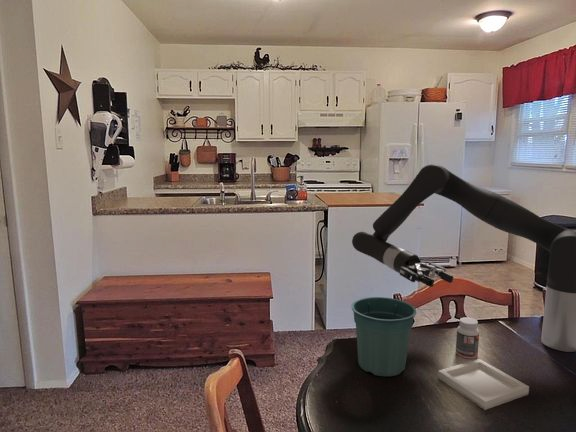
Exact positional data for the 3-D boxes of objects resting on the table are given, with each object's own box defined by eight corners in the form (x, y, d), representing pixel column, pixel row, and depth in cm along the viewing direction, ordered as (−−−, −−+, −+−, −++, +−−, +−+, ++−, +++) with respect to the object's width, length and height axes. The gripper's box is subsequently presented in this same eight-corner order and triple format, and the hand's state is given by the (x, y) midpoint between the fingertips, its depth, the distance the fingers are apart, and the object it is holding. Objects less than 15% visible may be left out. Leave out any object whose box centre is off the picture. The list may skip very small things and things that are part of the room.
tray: (478, 365, 108) (479, 358, 108) (528, 394, 95) (529, 386, 95) (437, 377, 103) (438, 370, 102) (484, 410, 90) (485, 401, 90)
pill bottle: (479, 360, 111) (482, 325, 109) (457, 358, 112) (459, 324, 111) (474, 350, 117) (477, 317, 115) (453, 348, 118) (455, 315, 116)
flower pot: (361, 345, 120) (362, 292, 117) (419, 358, 112) (422, 302, 110) (341, 371, 106) (342, 312, 103) (405, 389, 98) (408, 325, 95)
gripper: (387, 252, 126) (429, 272, 113) (418, 247, 134) (461, 266, 121) (382, 274, 128) (423, 297, 115) (414, 269, 136) (455, 290, 123)
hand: (442, 281), depth 118 cm, fingers open, 8 cm apart
